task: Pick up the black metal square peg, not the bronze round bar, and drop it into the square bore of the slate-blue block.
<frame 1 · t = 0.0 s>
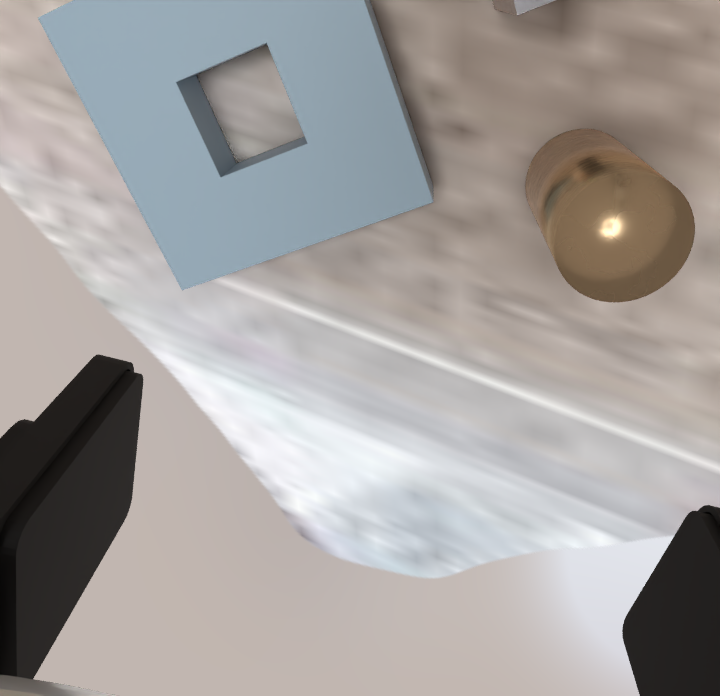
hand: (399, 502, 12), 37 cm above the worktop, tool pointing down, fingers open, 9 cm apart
round bar: (578, 182, 45), on the worktop
bore block: (257, 103, 45), on the worktop
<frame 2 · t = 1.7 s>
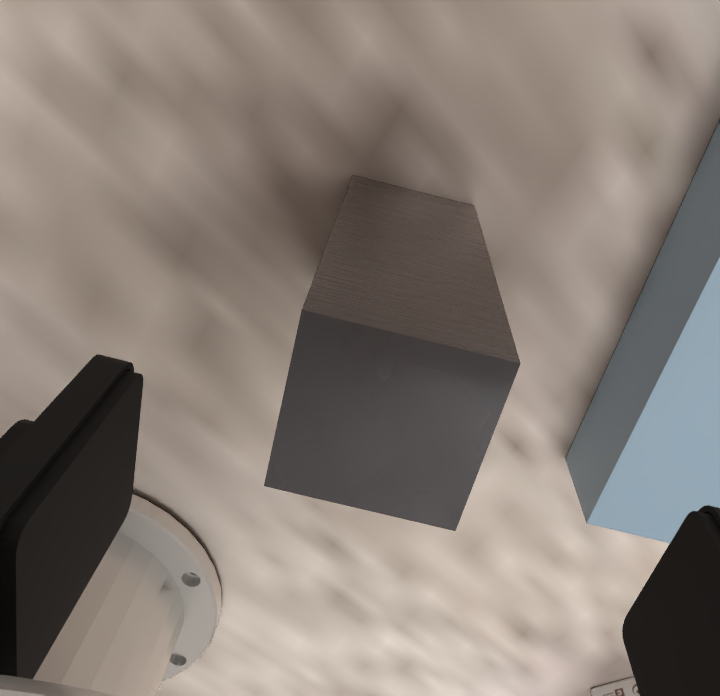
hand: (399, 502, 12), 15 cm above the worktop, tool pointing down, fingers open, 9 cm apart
square peg: (397, 248, 25), on the worktop
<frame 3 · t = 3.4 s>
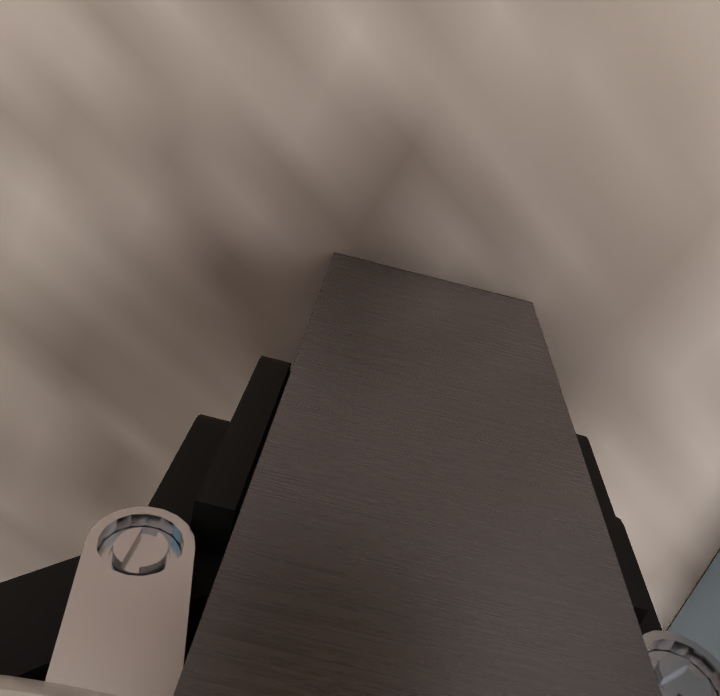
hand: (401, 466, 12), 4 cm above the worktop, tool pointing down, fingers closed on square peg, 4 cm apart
square peg: (407, 364, 16), on the worktop, touching gripper
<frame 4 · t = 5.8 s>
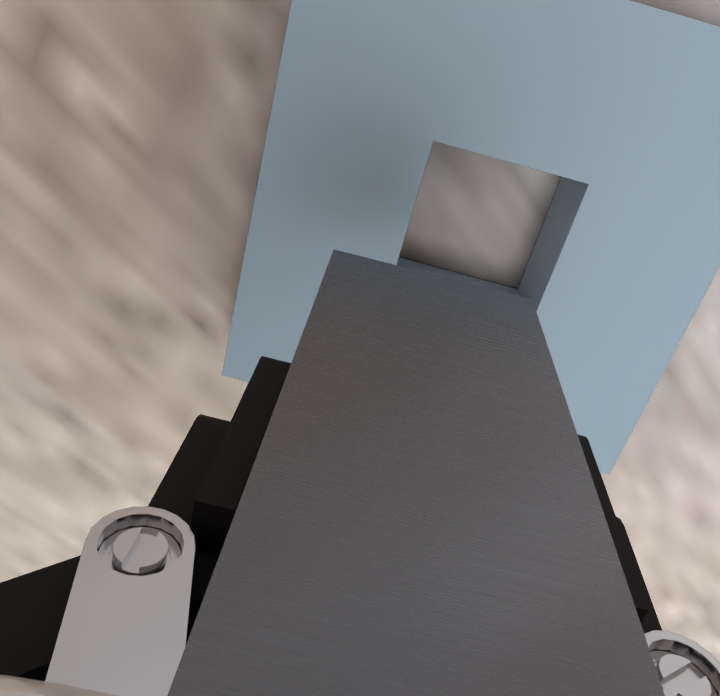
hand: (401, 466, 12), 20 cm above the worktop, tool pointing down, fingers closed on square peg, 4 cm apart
square peg: (406, 361, 16), point 16 cm above the worktop, touching gripper
bore block: (476, 210, 30), on the worktop
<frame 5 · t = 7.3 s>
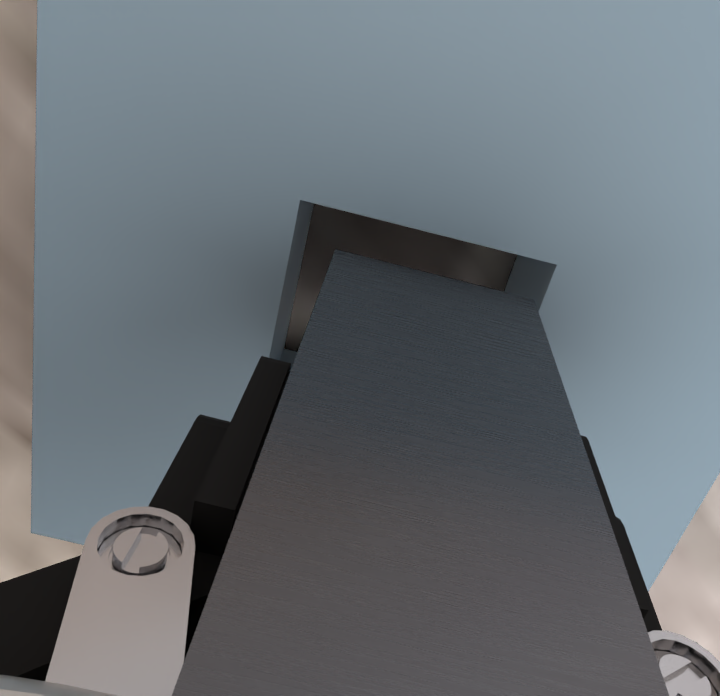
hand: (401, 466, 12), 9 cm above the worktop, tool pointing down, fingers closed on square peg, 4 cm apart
square peg: (408, 361, 16), point 5 cm above the worktop, touching gripper
bore block: (400, 286, 20), on the worktop
when the fingers open (5 cm above the worktop, at t = 8.5 s): square peg stays where it is, resting in bore block.
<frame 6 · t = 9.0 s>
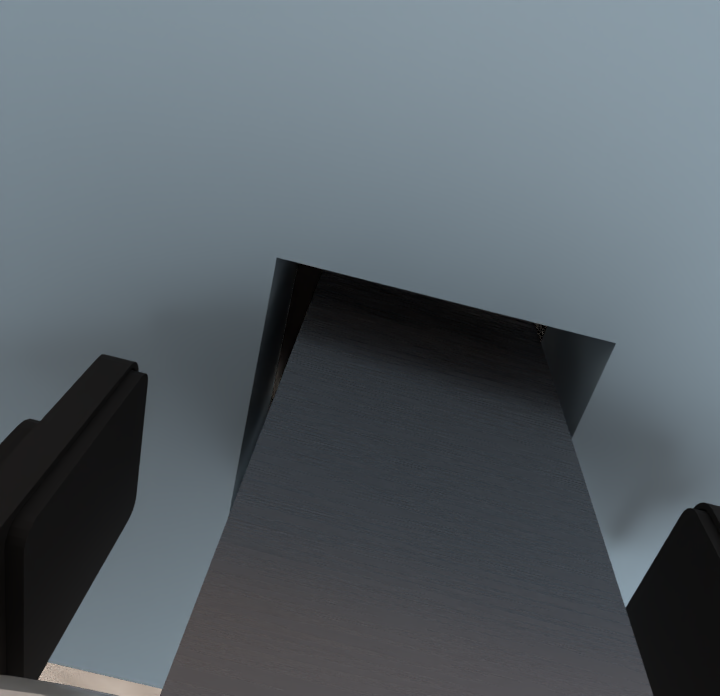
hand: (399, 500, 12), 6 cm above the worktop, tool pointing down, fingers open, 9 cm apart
square peg: (403, 342, 17), resting in bore block
bore block: (408, 345, 17), on the worktop
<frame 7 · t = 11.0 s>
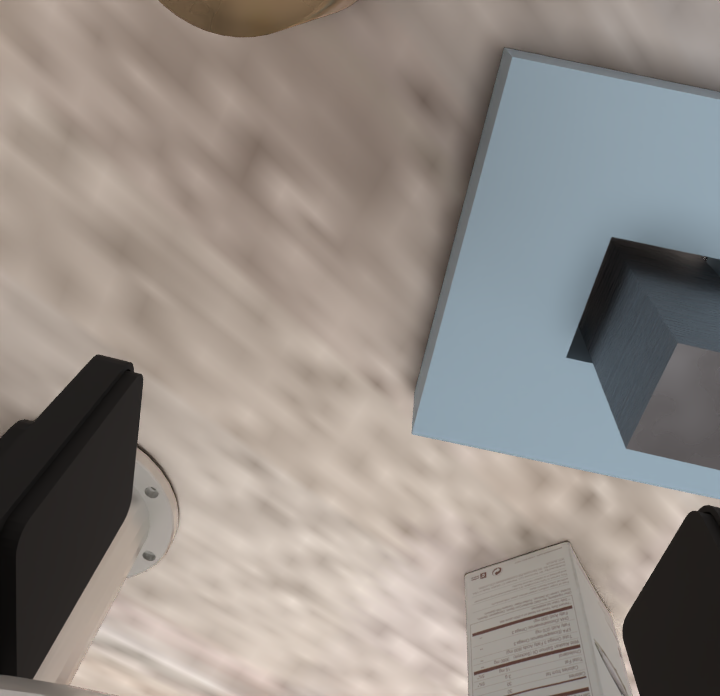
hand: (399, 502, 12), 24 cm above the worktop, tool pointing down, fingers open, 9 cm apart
supplement box: (537, 590, 45), on the worktop
square peg: (629, 277, 34), resting in bore block
bore block: (632, 279, 34), on the worktop
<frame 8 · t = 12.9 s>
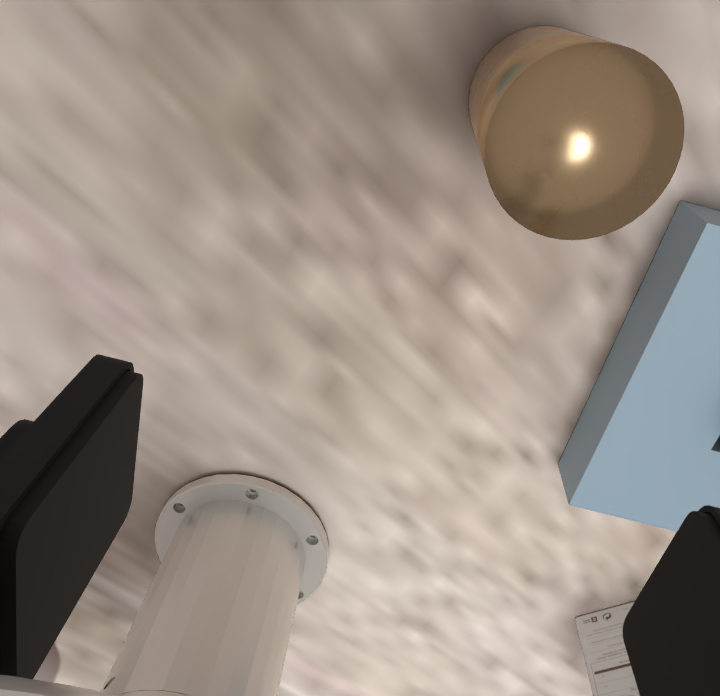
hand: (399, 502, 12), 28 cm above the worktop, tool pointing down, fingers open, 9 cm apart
supplement box: (636, 632, 51), on the worktop
round bar: (536, 99, 35), on the worktop
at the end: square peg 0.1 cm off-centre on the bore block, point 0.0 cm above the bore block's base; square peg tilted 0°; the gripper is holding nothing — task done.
